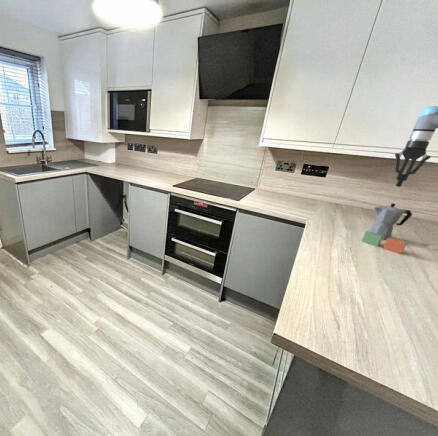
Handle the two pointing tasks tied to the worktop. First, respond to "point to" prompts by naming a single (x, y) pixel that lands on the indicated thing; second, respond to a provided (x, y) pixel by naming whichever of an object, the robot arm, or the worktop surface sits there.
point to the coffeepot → (388, 220)
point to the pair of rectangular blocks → (389, 245)
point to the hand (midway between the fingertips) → (398, 186)
